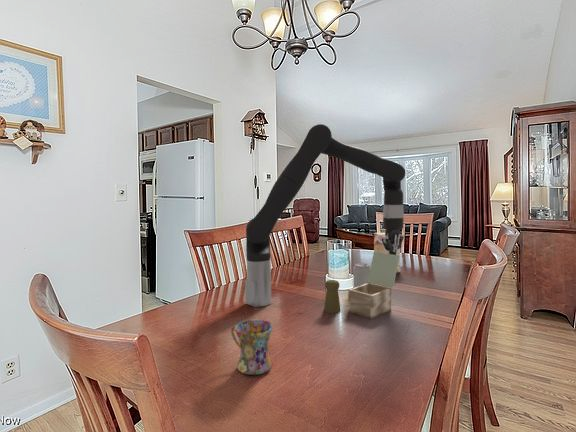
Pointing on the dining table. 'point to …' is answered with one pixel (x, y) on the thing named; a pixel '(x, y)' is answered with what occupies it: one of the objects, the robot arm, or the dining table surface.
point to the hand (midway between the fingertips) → (392, 260)
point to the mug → (253, 346)
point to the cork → (332, 297)
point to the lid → (383, 269)
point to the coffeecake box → (380, 247)
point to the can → (360, 274)
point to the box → (369, 300)
